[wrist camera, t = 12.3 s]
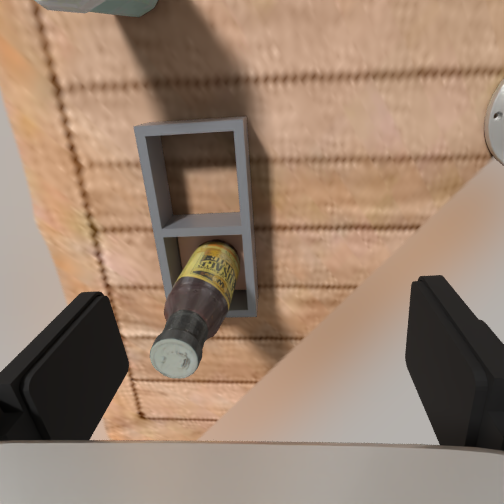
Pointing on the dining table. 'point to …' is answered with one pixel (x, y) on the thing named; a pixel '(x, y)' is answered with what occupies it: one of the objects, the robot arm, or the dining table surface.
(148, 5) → the disposable coffee cup
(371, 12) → the dining table surface
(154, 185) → the dock
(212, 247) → the sauce bottle
